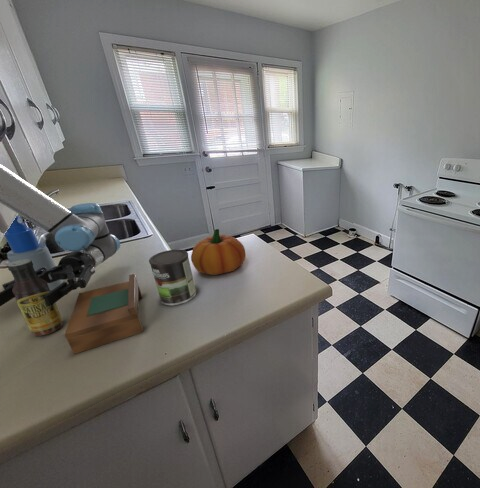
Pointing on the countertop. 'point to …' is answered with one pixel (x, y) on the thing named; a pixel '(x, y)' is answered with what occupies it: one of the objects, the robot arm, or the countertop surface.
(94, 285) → the countertop surface
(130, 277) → the brown wooden box
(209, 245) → the pumpkin
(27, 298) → the sauce bottle
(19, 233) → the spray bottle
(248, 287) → the countertop surface
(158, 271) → the large food can
